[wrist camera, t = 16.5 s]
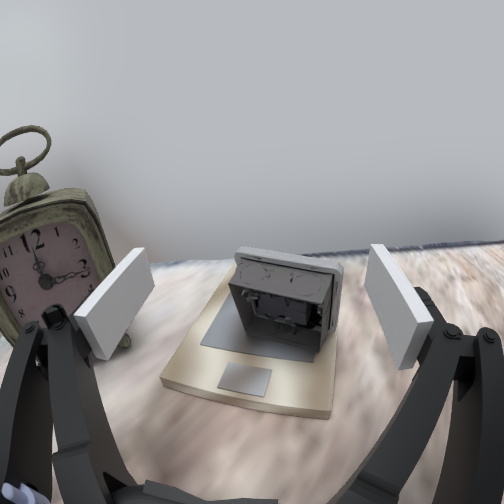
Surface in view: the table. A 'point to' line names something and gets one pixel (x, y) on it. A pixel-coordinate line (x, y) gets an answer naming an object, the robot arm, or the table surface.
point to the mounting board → (250, 364)
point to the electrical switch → (287, 296)
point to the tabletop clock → (47, 246)
